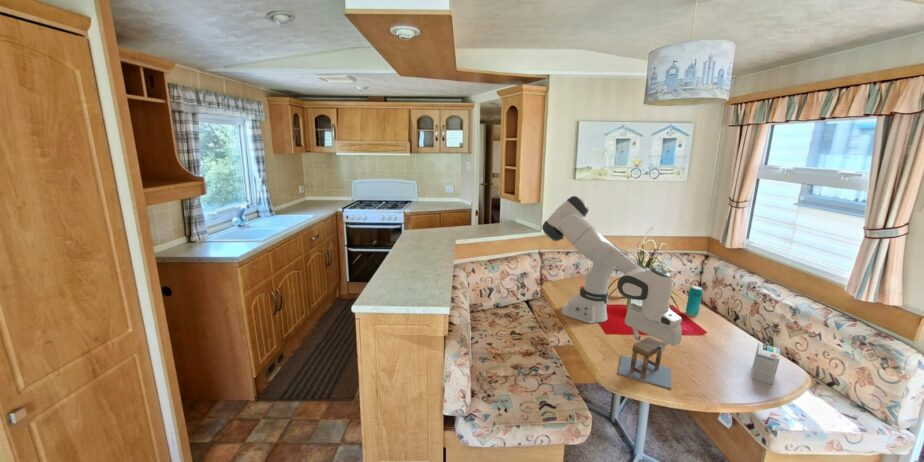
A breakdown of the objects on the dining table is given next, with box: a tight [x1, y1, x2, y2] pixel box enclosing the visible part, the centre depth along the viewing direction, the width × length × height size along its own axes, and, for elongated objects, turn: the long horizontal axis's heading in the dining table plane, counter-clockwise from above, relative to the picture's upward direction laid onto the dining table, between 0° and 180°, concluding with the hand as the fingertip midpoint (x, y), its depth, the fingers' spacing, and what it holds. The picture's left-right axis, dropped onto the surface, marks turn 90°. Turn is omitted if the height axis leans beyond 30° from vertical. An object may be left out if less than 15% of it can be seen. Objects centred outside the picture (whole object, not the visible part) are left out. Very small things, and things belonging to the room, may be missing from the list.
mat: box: [617, 355, 672, 390], centre depth 145 cm, size 18×14×1 cm
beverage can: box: [685, 285, 704, 317], centre depth 194 cm, size 6×6×15 cm
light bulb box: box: [751, 342, 781, 386], centre depth 144 cm, size 11×7×11 cm, turn 140°
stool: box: [630, 336, 664, 379], centre depth 144 cm, size 12×6×11 cm
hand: (648, 344), depth 142 cm, fingers open, 8 cm apart
